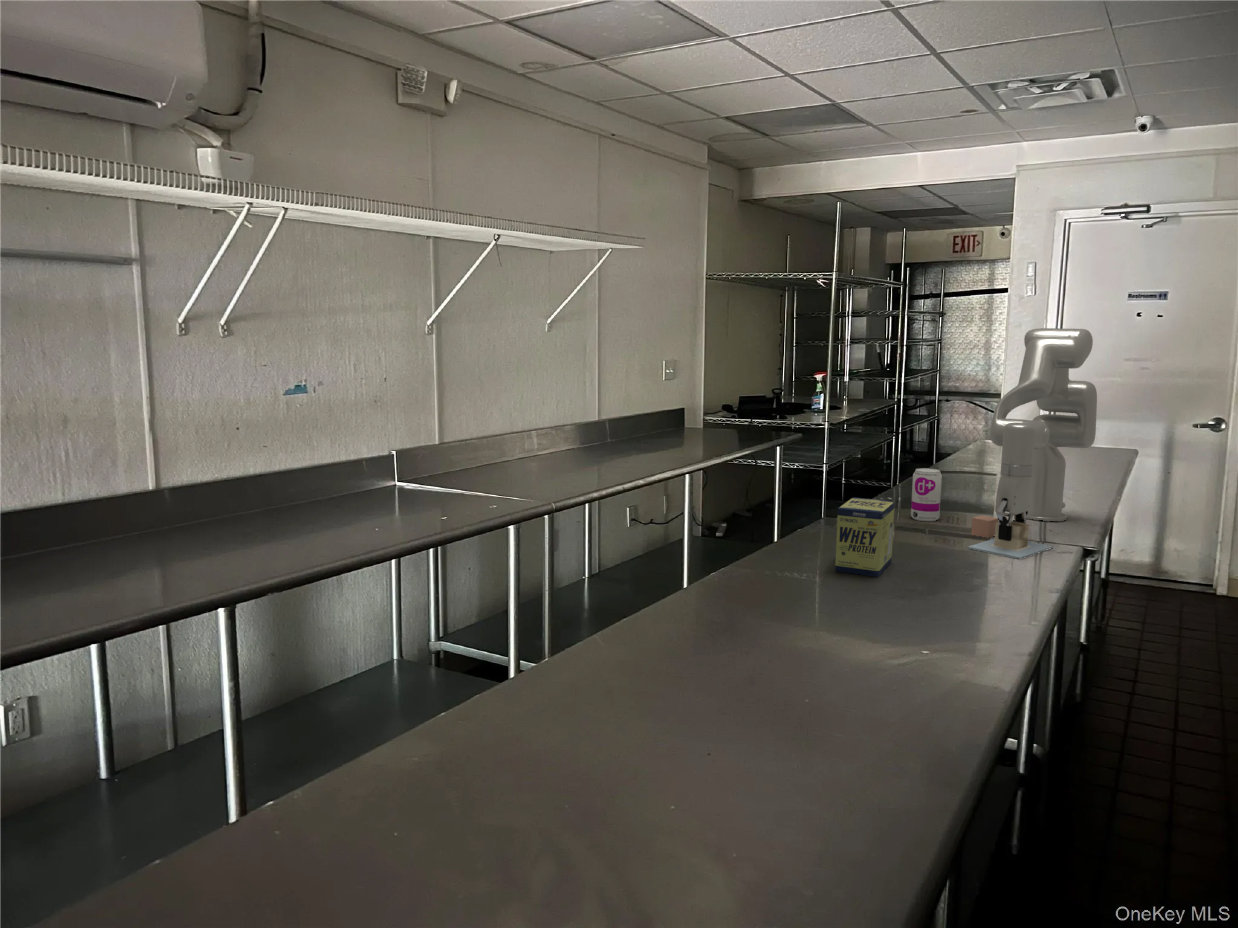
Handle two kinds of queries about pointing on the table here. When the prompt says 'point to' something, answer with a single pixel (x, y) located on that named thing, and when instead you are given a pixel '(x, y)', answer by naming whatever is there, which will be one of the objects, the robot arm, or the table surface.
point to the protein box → (864, 536)
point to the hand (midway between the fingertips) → (1011, 537)
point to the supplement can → (926, 494)
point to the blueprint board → (1020, 553)
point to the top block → (984, 526)
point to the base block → (1014, 536)
